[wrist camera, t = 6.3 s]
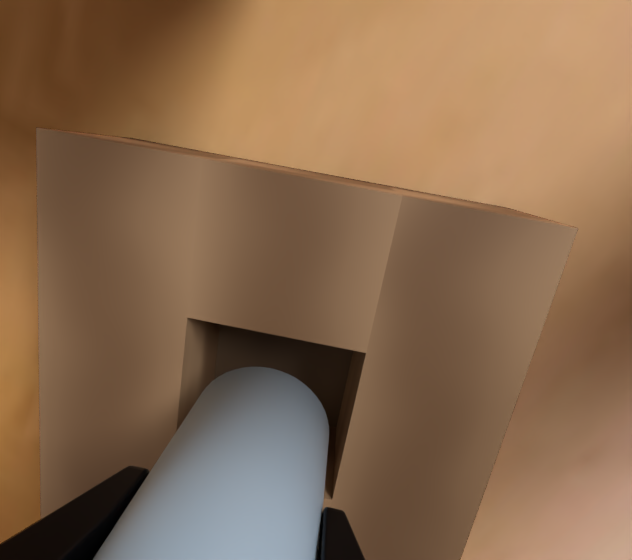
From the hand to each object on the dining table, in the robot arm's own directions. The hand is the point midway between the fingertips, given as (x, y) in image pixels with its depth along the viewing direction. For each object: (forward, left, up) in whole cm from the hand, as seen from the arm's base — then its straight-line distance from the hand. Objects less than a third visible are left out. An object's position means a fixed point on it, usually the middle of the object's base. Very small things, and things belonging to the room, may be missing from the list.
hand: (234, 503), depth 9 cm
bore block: (0, 0, -8) cm, 8 cm away
